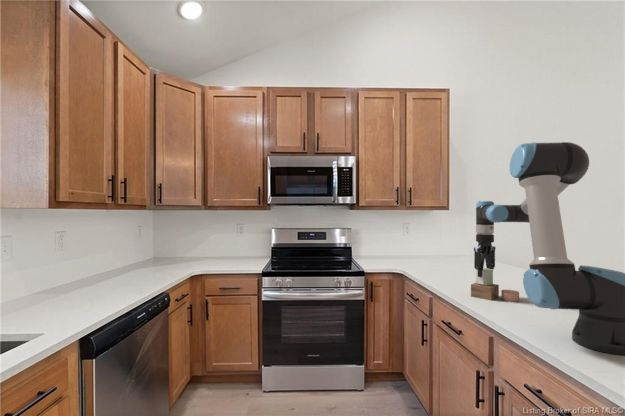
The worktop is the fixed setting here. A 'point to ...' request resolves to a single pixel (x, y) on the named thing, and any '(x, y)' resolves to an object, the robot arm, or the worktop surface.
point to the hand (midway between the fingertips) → (484, 283)
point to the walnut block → (485, 291)
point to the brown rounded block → (510, 295)
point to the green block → (486, 276)
